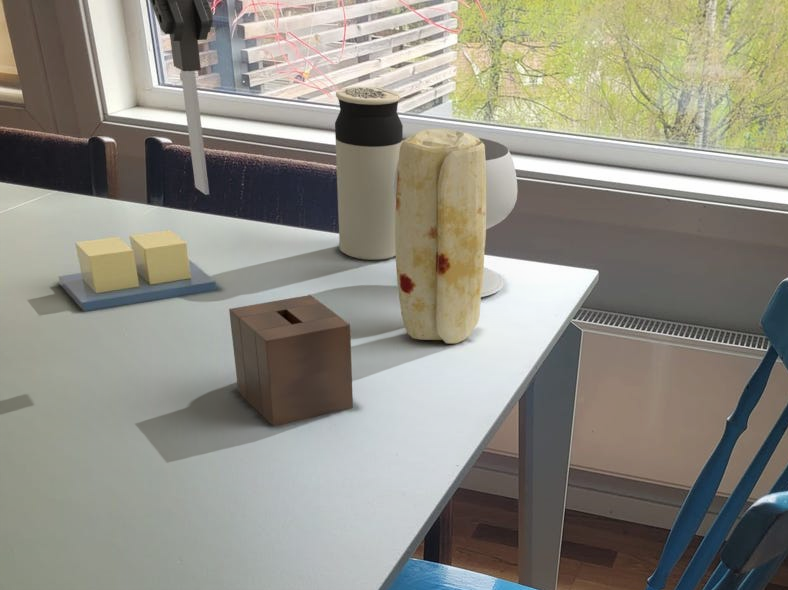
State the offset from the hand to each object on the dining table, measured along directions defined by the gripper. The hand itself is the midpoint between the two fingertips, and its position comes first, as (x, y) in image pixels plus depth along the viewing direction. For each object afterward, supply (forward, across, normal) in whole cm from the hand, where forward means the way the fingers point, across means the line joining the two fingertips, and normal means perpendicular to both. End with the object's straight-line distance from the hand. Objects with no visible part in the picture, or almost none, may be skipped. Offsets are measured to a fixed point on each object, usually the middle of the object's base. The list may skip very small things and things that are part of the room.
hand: (191, 33), depth 83 cm
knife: (+8, 0, +11) cm, 13 cm away
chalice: (+15, +31, +25) cm, 43 cm away
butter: (+4, -2, +35) cm, 36 cm away
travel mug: (+4, +28, +36) cm, 45 cm away
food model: (+24, +22, +16) cm, 36 cm away
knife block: (+29, +2, +11) cm, 31 cm away
